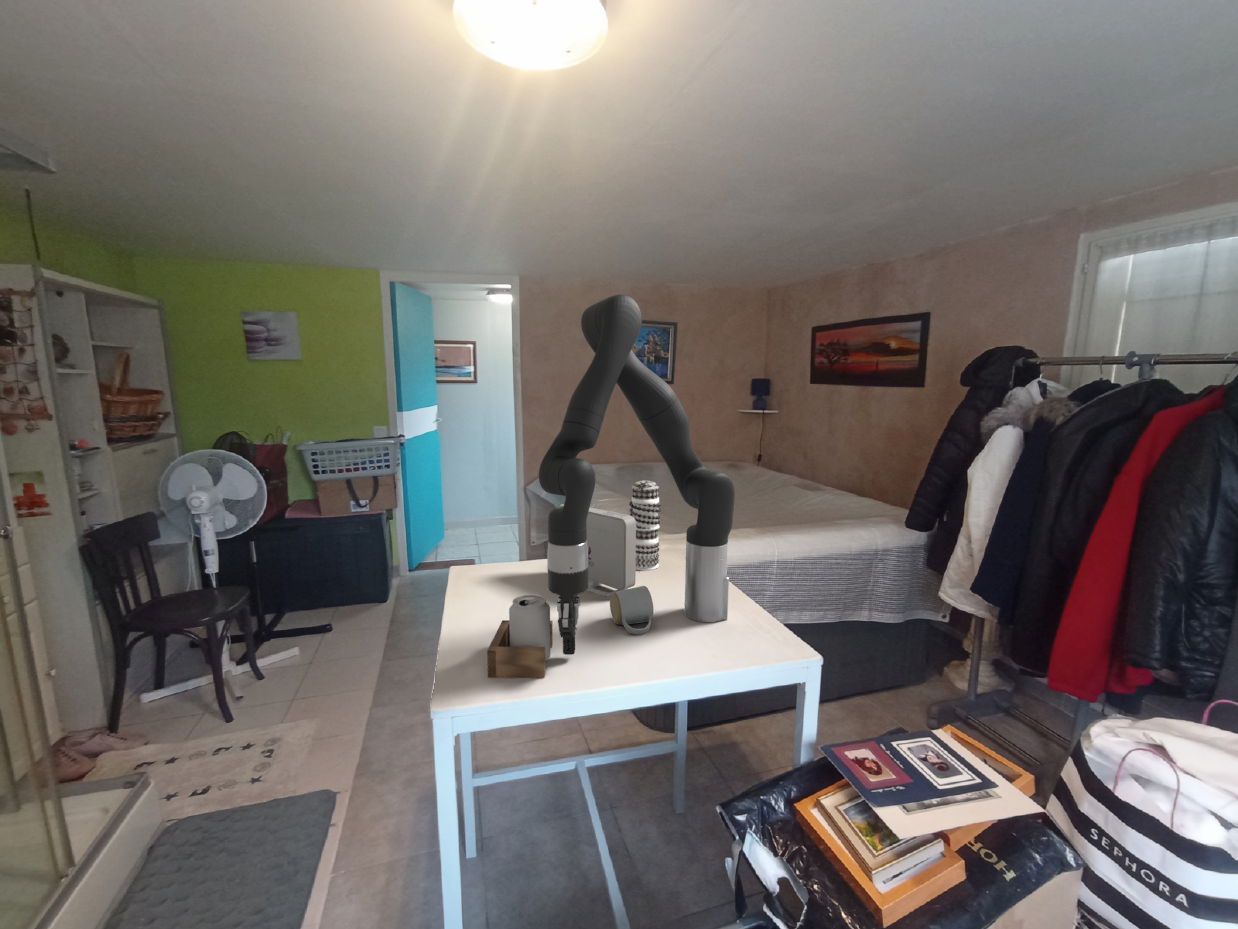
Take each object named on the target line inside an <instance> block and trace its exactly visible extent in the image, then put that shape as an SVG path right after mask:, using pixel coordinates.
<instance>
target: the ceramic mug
mask: <svg viewBox="0 0 1238 929" xmlns="http://www.w3.org/2000/svg"><path fill="white" fill-rule="evenodd" d="M651 594H652V593H651V591H650V590H649V588H648V587H647V586H646V585H641V586H637V587H632V588H631V587H630V588H628V589H626V590H620V591H617V592H615V593H613V594H612V595H611V596H609V598H610V599H609V607H610V608H609V610H610V615H611V618H612V620H613V622H614V623H615V624H617V625H621V626H623V627H624V629H625V630H626V631H627V632H628V633H630V634H633V635H638V636H639V635H645V634H647V633H648V631H649V630H650V628H651V623H652V620H653V618H654V610H655V609H654V603H653V597H652V595H651ZM641 623H647V625H646V626H645V627H643V628H635V627H632V626H630V625H631V624H641Z"/></svg>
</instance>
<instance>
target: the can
mask: <svg viewBox="0 0 1238 929" xmlns="http://www.w3.org/2000/svg"><path fill="white" fill-rule="evenodd" d="M508 615H509V616H508V618H509V619H508V620H509V626H510V647H545V663H546V662H547V661H548V660H549V659H550V657H551V648H550V621H551V605H550V604H549V603H548V602H547V598H546V597H545V596H544V595H541V594H537V593H536V594H535V593H527V594H522V595H518V596H517V597H515V598H514V599H512V605H510V607H509V608H508Z"/></svg>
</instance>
